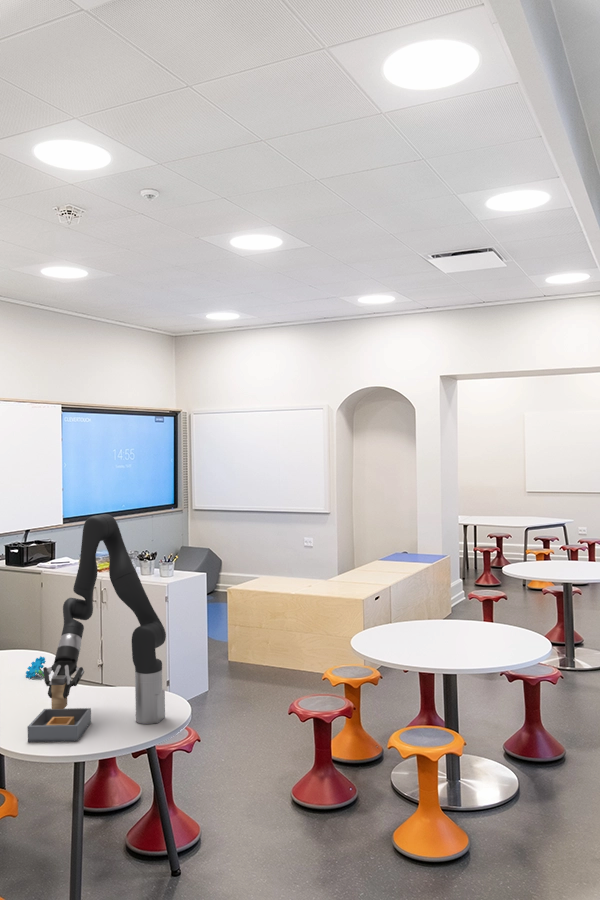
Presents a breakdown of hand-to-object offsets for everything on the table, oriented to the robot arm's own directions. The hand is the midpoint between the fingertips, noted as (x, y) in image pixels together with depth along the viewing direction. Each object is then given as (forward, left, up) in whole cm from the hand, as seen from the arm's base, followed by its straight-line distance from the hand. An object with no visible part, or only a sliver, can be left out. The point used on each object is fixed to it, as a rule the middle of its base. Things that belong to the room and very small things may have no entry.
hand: (57, 696), depth 244 cm
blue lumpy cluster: (+44, -52, -13) cm, 69 cm away
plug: (+1, -2, -4) cm, 4 cm away
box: (0, -2, -12) cm, 13 cm away
